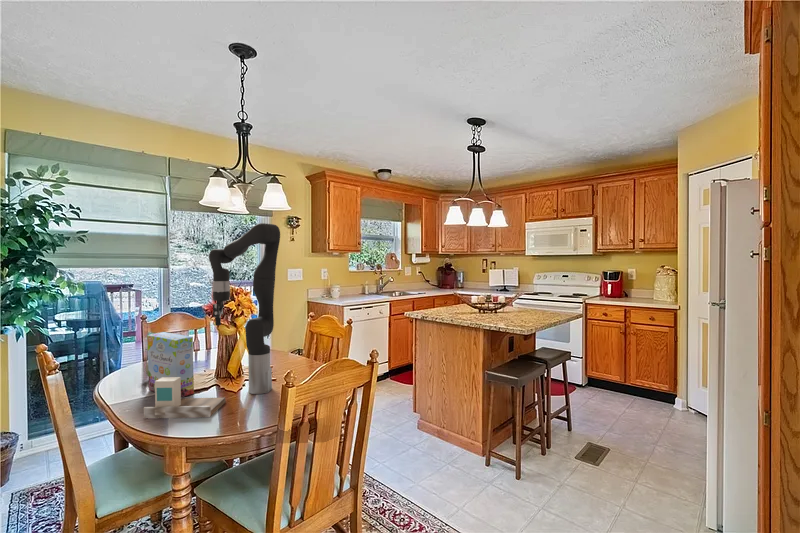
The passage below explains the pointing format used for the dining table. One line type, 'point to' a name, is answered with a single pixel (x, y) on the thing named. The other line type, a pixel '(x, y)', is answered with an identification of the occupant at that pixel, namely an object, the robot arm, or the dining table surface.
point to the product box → (168, 392)
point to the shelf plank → (186, 408)
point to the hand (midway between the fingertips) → (221, 323)
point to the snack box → (171, 359)
